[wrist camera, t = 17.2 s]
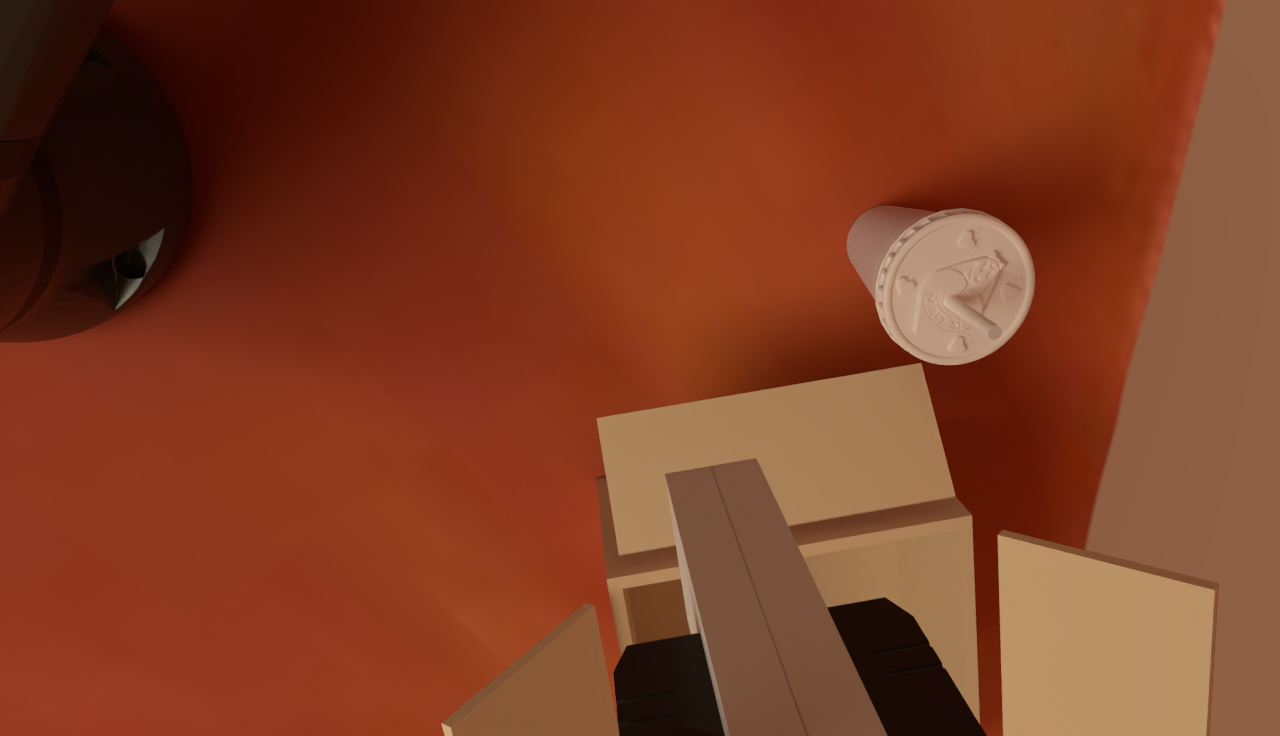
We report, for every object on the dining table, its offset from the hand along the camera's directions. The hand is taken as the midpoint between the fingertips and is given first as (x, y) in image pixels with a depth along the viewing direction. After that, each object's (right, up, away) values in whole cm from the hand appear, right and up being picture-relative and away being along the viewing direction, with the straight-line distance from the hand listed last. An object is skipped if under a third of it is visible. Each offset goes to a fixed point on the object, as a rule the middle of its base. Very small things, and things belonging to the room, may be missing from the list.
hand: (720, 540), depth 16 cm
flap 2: (+5, -1, +26) cm, 27 cm away
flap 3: (+18, -11, +25) cm, 32 cm away
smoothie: (+11, +9, +32) cm, 35 cm away
